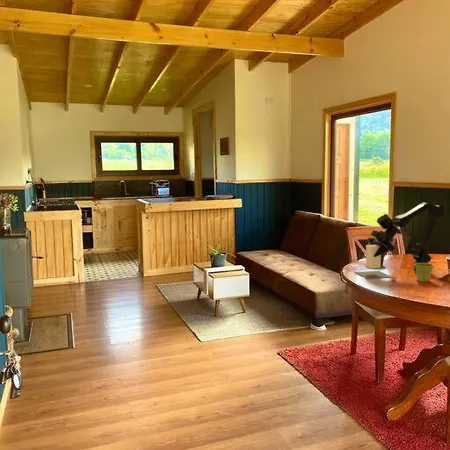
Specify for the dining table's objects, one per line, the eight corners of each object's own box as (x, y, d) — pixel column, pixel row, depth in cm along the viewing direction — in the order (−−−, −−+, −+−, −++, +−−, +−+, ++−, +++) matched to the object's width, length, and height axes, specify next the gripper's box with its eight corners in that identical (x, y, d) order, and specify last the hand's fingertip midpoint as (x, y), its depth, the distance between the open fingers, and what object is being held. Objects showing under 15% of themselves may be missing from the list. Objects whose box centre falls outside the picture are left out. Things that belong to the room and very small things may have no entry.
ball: (394, 279, 239) (395, 274, 239) (397, 281, 236) (397, 275, 236) (389, 280, 239) (389, 274, 238) (392, 281, 236) (392, 275, 235)
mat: (379, 271, 259) (379, 270, 259) (392, 277, 244) (392, 276, 244) (354, 272, 257) (354, 271, 257) (365, 278, 242) (365, 278, 242)
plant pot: (431, 283, 230) (432, 267, 229) (412, 281, 235) (412, 265, 234) (434, 279, 238) (435, 263, 237) (415, 277, 243) (415, 262, 242)
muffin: (361, 264, 278) (361, 248, 277) (373, 262, 284) (374, 247, 282) (376, 268, 268) (377, 251, 267) (389, 266, 274) (389, 249, 272)
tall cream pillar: (374, 265, 253) (374, 244, 252) (380, 267, 248) (380, 246, 247) (365, 266, 252) (366, 245, 250) (371, 268, 247) (372, 246, 245)
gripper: (370, 223, 257) (353, 243, 256) (390, 227, 239) (372, 248, 238) (381, 236, 260) (364, 256, 259) (402, 240, 243) (384, 262, 241)
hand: (371, 255), depth 249 cm, fingers closed on tall cream pillar, 6 cm apart
